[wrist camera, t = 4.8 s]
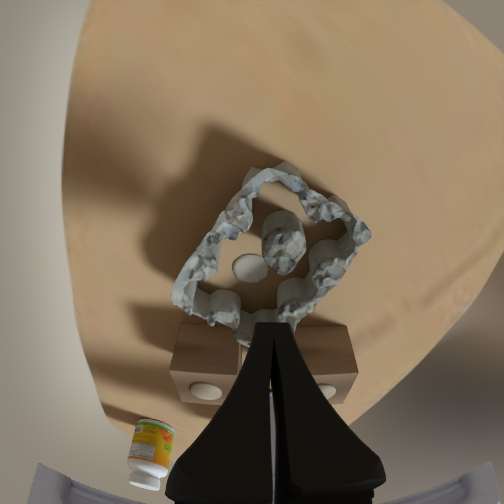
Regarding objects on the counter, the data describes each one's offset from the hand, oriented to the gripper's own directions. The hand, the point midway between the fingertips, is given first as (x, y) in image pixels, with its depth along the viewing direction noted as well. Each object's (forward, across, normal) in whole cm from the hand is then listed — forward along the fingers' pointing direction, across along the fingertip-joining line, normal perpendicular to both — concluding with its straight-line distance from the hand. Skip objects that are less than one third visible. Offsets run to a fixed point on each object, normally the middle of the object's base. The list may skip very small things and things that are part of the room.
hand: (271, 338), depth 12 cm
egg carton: (+7, 0, 0) cm, 7 cm away
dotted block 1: (+7, +4, +9) cm, 12 cm away
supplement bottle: (+7, +14, +29) cm, 33 cm away
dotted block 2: (+7, -4, +9) cm, 12 cm away
